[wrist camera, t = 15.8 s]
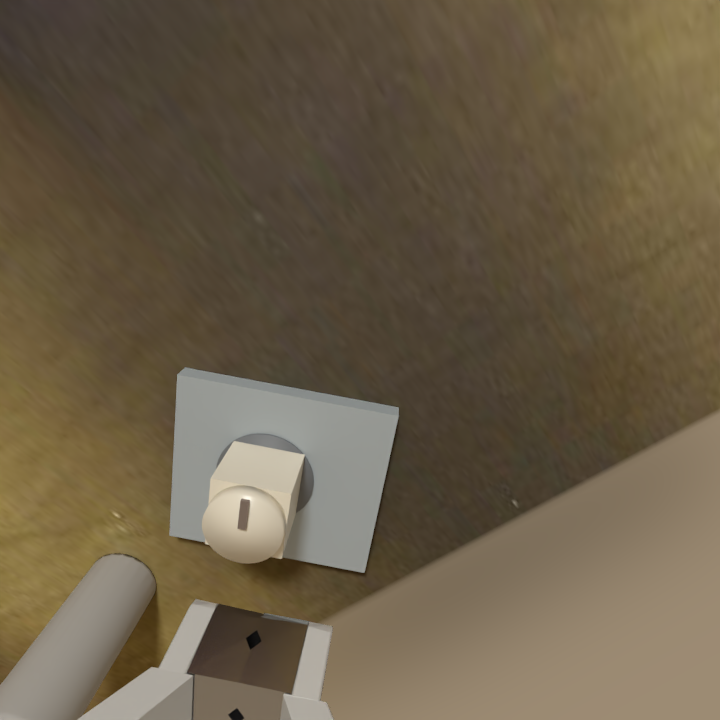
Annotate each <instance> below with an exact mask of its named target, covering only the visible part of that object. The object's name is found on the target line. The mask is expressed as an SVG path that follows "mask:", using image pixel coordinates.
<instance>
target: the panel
mask: <svg viewBox="0 0 720 720" xmlns="http://www.w3.org/2000/svg"><path fill="white" fill-rule="evenodd" d="M398 417H399V407H393V406H388V405H383V404H377V403H372V402H367V401H361V400H356V399H351V398H345V397H340V396H335V395H329V394H324V393H319V392H313V391H308V390H303V389H297V388H292V387H287V386H281V385H276V384H270V383H265V382H260V381H254V380H249V379H244V378H238V377H233V376H228V375H222V374H217V373H212V372H206V371H201V370H196V369H190V368H184V369H183V370H182V371H181V372H180V373H179V374H177V392H176V413H175V433H174V454H173V475H172V495H171V516H170V536H175V537H180V538H185V539H190V540H195V541H201V542H205V537H204V534H203V531H202V518H203V515H204V513H205V511H206V509H207V507H208V502H209V490H210V478H211V477H212V475H213V473H214V472H215V470H216V469H217V467H218V465H219V464H220V462H221V461H222V459H223V457H224V456H225V454H226V453H227V451H228V449H229V448H230V446H231V445H232V443H233V442H234V441H237V442H242V443H247V444H253V445H258V446H263V447H268V448H273V449H278V450H284V451H289V452H294V453H299V454H304V455H305V457H304V464H303V470H302V477H301V483H300V489H299V496H298V502H297V509H296V515H295V518H294V521H293V524H292V527H291V531H290V534H289V537H288V540H287V543H286V547H285V550H284V553H283V556H282V557H284V558H289V559H294V560H299V561H305V562H310V563H315V564H320V565H325V566H331V567H336V568H341V569H346V570H351V571H357V572H362V573H365V569H366V564H367V560H368V555H369V550H370V546H371V541H372V537H373V532H374V527H375V523H376V518H377V514H378V509H379V504H380V500H381V495H382V491H383V486H384V481H385V477H386V472H387V467H388V463H389V458H390V454H391V449H392V444H393V440H394V435H395V431H396V426H397V421H398Z"/></svg>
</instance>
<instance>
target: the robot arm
mask: <svg viewBox="0 0 720 720" xmlns="http://www.w3.org/2000/svg"><path fill="white" fill-rule="evenodd" d="M332 631H333V626H328V625H323V624H318V623H313V622H309V621H304V620H299V619H293V618H288V617H282V616H277V615H271V614H266V613H264V614H261V613H257V612H253V611H248V610H244V609H239V608H235V607H230V606H226V605H221V604H216V603H211V602H207V601H202V600H197V599H196V600H195V601H194V602H193V603H192V604H191V605H190V607H189V609H188V611H187V613H186V615H185V617H184V619H183V621H182V623H181V625H180V627H179V629H178V631H177V633H176V635H175V636H174V638H173V640H172V642H171V644H170V646H169V648H168V650H167V652H166V654H165V656H164V658H163V660H162V662H161V664H160V666H159V668H155V667H150V668H149V669H148V670H146V671H145V672H143V673H142V674H141V675H139V676H138V677H136V678H135V679H134V680H132V681H131V682H129V683H128V684H127V685H125V686H124V687H122V688H121V689H119V690H118V691H117V692H115V693H114V694H112V695H111V696H110V697H108V698H107V699H105V700H104V701H103V702H101V703H100V704H98V705H97V706H96V707H94V708H93V709H91V710H90V711H88V712H87V713H86V714H84V715H83V716H81V717H80V718H79V719H77V720H334V719H333V716H332V714H331V711H330V709H329V706H328V704H327V702H323V701H321V695H322V689H323V684H324V677H325V672H326V666H327V660H328V654H329V648H330V643H331V637H332Z"/></svg>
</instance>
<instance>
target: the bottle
mask: <svg viewBox="0 0 720 720" xmlns="http://www.w3.org/2000/svg"><path fill="white" fill-rule="evenodd" d="M155 591H156V581H155V578H154V575H153V573H152V572H151V571H150V569H149V568H148V567H147V566H146V565H145V564H144V563H142V562H141V561H140V560H138V559H136V558H134V557H132V556H129V555H126V554H117V553H115V554H108V555H105V556H103V557H101V558H100V559H98V560H97V561H96V562H95V564H94V565H93V566H92V567H91V569H90V570H89V571H88V573H87V574H86V575H85V576H84V578H83V579H82V580H81V581H80V583H79V584H78V585H77V586H76V588H75V589H74V590H73V592H72V593H71V594H70V595H69V597H68V598H67V599H66V601H65V602H64V603H63V605H62V606H61V607H60V608H59V610H58V611H57V612H56V614H55V615H54V616H53V618H52V619H51V620H50V621H49V623H48V624H47V625H46V627H45V628H44V629H43V631H42V632H41V633H40V634H39V636H38V637H37V638H36V640H35V641H34V642H33V644H32V645H31V646H30V647H29V649H28V650H27V651H26V653H25V654H24V655H23V657H22V658H21V659H20V660H19V662H18V663H17V664H16V666H15V667H14V668H13V670H12V671H11V672H10V673H9V675H8V676H7V677H6V679H5V680H4V681H3V683H2V684H1V685H0V720H77V719H79V718H80V717H81V716H82V715H83V713H84V711H85V710H86V708H87V706H88V705H89V703H90V701H91V700H92V698H93V696H94V695H95V693H96V691H97V690H98V688H99V686H100V685H101V683H102V681H103V680H104V678H105V676H106V675H107V673H108V671H109V670H110V668H111V666H112V665H113V663H114V661H115V660H116V658H117V656H118V655H119V653H120V651H121V650H122V648H123V646H124V645H125V643H126V641H127V640H128V638H129V636H130V635H131V633H132V631H133V630H134V628H135V626H136V625H137V623H138V621H139V620H140V618H141V616H142V615H143V613H144V611H145V609H146V608H147V606H148V604H149V602H150V601H151V599H152V597H153V596H154V594H155Z"/></svg>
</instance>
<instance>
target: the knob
mask: <svg viewBox="0 0 720 720" xmlns="http://www.w3.org/2000/svg"><path fill="white" fill-rule="evenodd" d="M304 457H305V455H304V454H299V453H294V452H289V451H284V450H278V449H273V448H268V447H263V446H258V445H253V444H247V443H242V442H237V441H234V442H233V443H232V445H231V446H230V448H229V449H228V451H227V453H226V454H225V456H224V457H223V459H222V461H221V462H220V464H219V465H218V467H217V469H216V470H215V472H214V473H213V475H212V477H211V478H210V490H209V502H208V507H207V509H206V511H205V513H204V515H203V518H202V531H203V534H204V537H205V544H207V545H210V546H211V548H212V549H213V550H214V551H216V552H217V553H218V554H219V555H221V556H223V557H224V558H226V559H229V560H231V561H234V562H238V563H257V562H261V561H264V560H266V559H268V558H270V557H273V558H279V559H282V556H283V553H284V550H285V547H286V543H287V540H288V537H289V534H290V531H291V527H292V524H293V521H294V518H295V515H296V509H297V502H298V496H299V489H300V483H301V477H302V470H303V464H304Z"/></svg>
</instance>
